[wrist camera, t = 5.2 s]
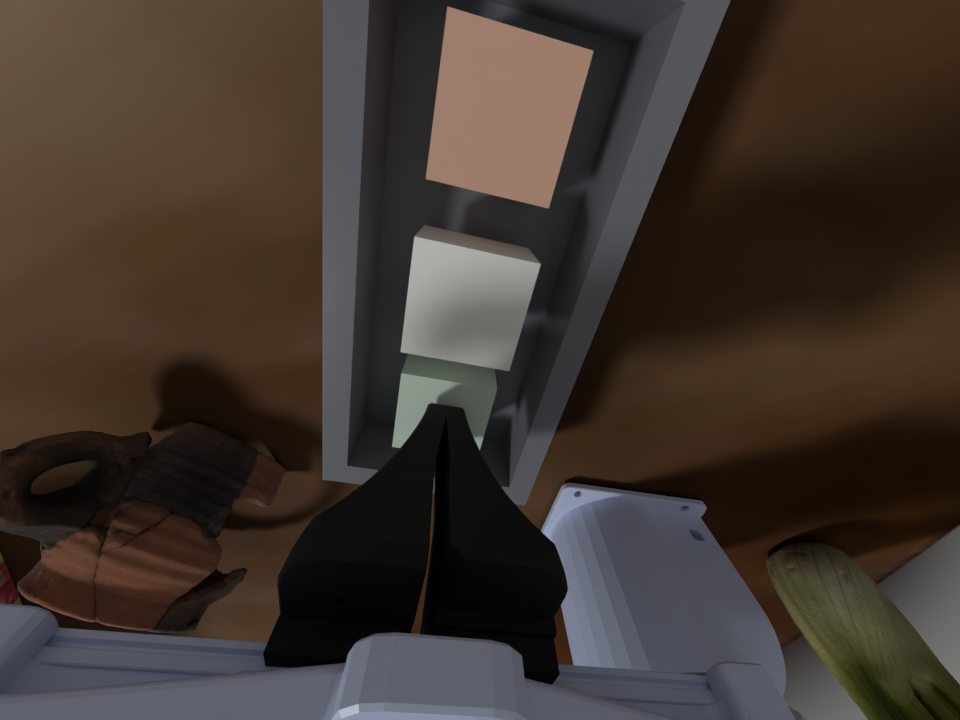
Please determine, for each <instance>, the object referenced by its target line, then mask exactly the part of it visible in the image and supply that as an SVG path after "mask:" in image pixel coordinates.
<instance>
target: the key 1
mask: <svg viewBox="0 0 960 720" xmlns="http://www.w3.org/2000/svg"><path fill="white" fill-rule="evenodd" d="M496 392H497V384H496V376H495V369H493V368H488V367H482V366H476V365H471V364H465V363H459V362H454V361H448V360H442V359H437V358H431V357H425V356H420V355H414V354H408V355H407V358H406V361H405V364H404V367H403V369H402V372H401V379H400V387H399V395H398V403H397V411H396V419H395V427H394V435H393V443H392V447H396V448H401V447H402V445H403V444H404V443H405V442H406V440H407V439H408V438H409V437H410V435H411V434H412V432H413V431H414V430H415V428H416V427H417V425H418V424H419V422H420V420H421V419H422V417H423V415H424V413H425V411H426V409H427V406H428V404H430V403H435V404H441V405H448V406H454V407H460V408H463V409H464V411H465V414H466V418H467V421H468V424H469V427H470V429H471V432H472V434H473V437H474V439H475V441H476V444H477V446H478V448H479V450H480V448H481V445H482V441H483V437H484V434H485V430H486V427H487V423H488V420H489V416H490V413H491V409H492V406H493V402H494V399H495V395H496Z"/></svg>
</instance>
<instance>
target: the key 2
mask: <svg viewBox="0 0 960 720" xmlns="http://www.w3.org/2000/svg"><path fill="white" fill-rule="evenodd" d="M593 52H594V51H593V50H589V49H586V48H583V47H580V46H576V45H573V44H570V43H566V42H563V41H560V40H557V39H553V38H550V37H547V36H543V35H540V34H537V33H533V32H530V31H527V30H524V29H520V28H517V27H514V26H510V25H507V24H504V23H501V22H497V21H494V20H491V19H487V18H484V17H481V16H478V15H474V14H471V13H468V12H464V11H461V10H458V9H455V8H451V7H448V6H447V13H446V21H445V29H444V37H443V45H442V53H441V61H440V69H439V77H438V85H437V93H436V101H435V109H434V117H433V125H432V133H431V141H430V149H429V156H428V164H427V172H426V179H428V180H432V181H436V182H440V183H444V184H449V185H453V186H457V187H461V188H465V189H469V190H474V191H478V192H482V193H486V194H490V195H494V196H499V197H503V198H507V199H511V200H515V201H519V202H524V203H528V204H532V205H536V206H540V207H544V208H549V206H550V203H551V199H552V196H553V192H554V189H555V185H556V182H557V178H558V175H559V171H560V168H561V164H562V161H563V157H564V154H565V150H566V147H567V143H568V140H569V136H570V133H571V129H572V126H573V122H574V118H575V115H576V111H577V108H578V104H579V101H580V97H581V94H582V90H583V87H584V83H585V80H586V76H587V73H588V69H589V66H590V62H591V59H592V55H593Z"/></svg>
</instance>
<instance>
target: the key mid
mask: <svg viewBox="0 0 960 720" xmlns="http://www.w3.org/2000/svg"><path fill="white" fill-rule="evenodd" d="M540 266H541V263H540V262H539V261H538V260H537V258H536V257H535V256H534V255H533V253H532V252H531V251H530V250H529V248H526V247H521V246H517V245H512V244H508V243H503V242H499V241H494V240H490V239H485V238H481V237H476V236H472V235H467V234H463V233H458V232H454V231H450V230H445V229H441V228H436V227H432V226H427V225H424V226H423V227H422V228H421V229H420V231H419V232H418V233H417V234H416V235H415V236H414V243H413V251H412V260H411V268H410V276H409V285H408V293H407V301H406V310H405V318H404V326H403V334H402V343H401V351H400V352H403V353H408V354H414V355H420V356H425V357H431V358H437V359H442V360H448V361H454V362H459V363H465V364H471V365H476V366H482V367H488V368H493V369H499V370H505V371H509V370H510V367H511V364H512V360H513V357H514V353H515V350H516V347H517V343H518V340H519V337H520V333H521V330H522V326H523V323H524V320H525V316H526V313H527V310H528V306H529V303H530V299H531V296H532V293H533V289H534V286H535V282H536V279H537V276H538V272H539V269H540Z"/></svg>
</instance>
